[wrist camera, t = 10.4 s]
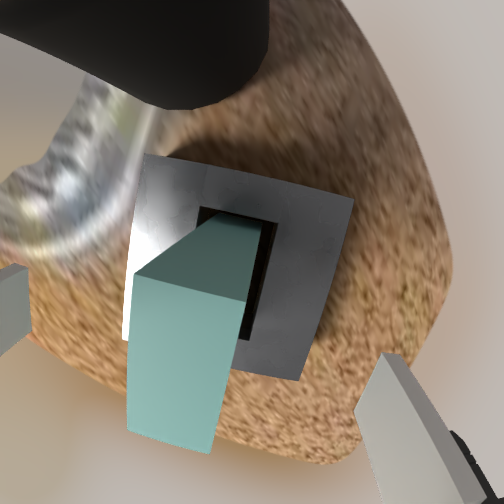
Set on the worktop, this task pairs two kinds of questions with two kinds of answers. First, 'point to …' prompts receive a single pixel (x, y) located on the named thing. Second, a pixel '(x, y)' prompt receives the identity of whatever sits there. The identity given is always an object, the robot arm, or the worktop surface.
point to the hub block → (277, 260)
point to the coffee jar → (150, 43)
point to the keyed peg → (188, 331)
